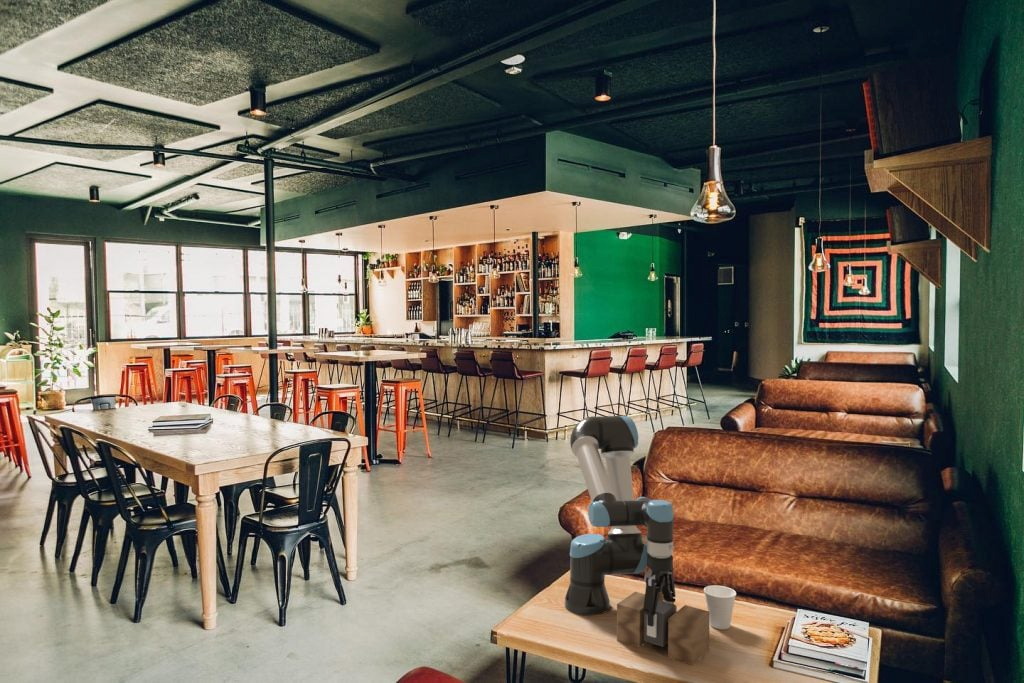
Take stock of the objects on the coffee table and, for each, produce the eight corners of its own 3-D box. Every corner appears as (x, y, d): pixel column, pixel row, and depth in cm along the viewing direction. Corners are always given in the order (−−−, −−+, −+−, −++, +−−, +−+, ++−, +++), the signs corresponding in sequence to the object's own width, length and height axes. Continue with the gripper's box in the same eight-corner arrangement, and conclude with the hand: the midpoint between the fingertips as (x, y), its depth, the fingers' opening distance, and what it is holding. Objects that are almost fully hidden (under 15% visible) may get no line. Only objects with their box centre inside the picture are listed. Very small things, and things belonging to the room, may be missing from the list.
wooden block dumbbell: (616, 640, 194) (617, 603, 194) (635, 626, 204) (635, 591, 203) (693, 665, 179) (693, 625, 179) (709, 648, 189) (709, 611, 189)
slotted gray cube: (644, 640, 188) (644, 608, 188) (656, 630, 195) (656, 599, 195) (663, 646, 185) (663, 614, 185) (674, 636, 191) (675, 605, 191)
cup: (738, 634, 198) (738, 598, 198) (704, 631, 200) (705, 596, 200) (734, 620, 208) (734, 586, 208) (702, 617, 210) (702, 584, 210)
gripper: (655, 567, 179) (654, 647, 179) (687, 547, 196) (686, 619, 196) (630, 561, 183) (630, 639, 183) (664, 542, 201) (663, 613, 201)
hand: (659, 629), depth 190 cm, fingers open, 10 cm apart
